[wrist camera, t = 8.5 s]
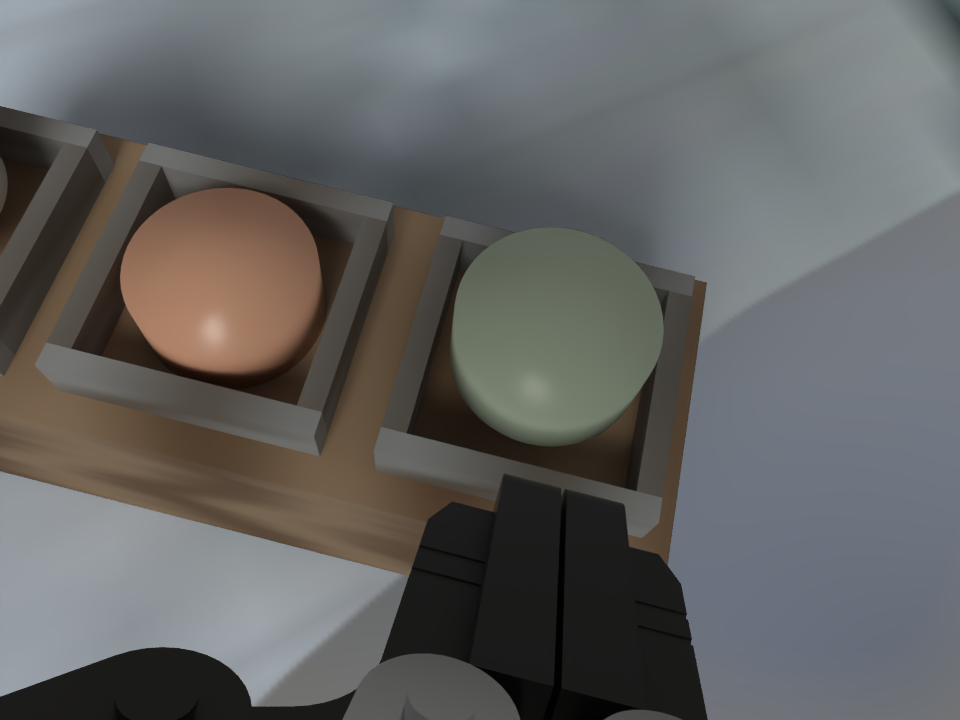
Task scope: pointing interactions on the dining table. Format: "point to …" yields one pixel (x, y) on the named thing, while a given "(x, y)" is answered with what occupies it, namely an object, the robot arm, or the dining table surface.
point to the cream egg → (3, 184)
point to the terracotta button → (225, 287)
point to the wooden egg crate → (300, 391)
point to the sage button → (553, 335)
